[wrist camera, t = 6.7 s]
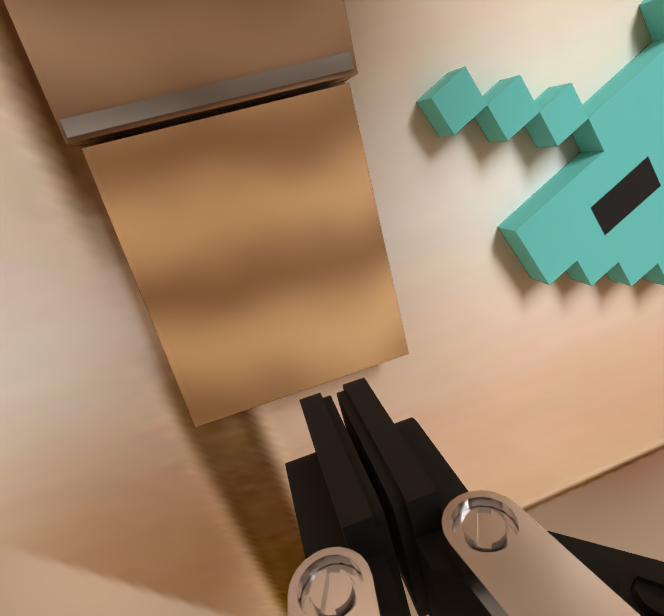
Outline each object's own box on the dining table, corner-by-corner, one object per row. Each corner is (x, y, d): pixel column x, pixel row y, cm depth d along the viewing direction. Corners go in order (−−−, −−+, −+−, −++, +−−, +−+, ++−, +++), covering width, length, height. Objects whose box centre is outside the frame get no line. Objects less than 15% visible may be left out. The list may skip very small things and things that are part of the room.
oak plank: (94, 152, 21) (81, 148, 19) (338, 92, 22) (348, 83, 20) (197, 409, 25) (195, 427, 23) (395, 342, 27) (408, 353, 25)
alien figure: (412, 102, 24) (568, 341, 32) (431, 97, 22) (593, 354, 30) (698, -161, 23) (785, 149, 31) (744, -192, 21) (825, 149, 29)
